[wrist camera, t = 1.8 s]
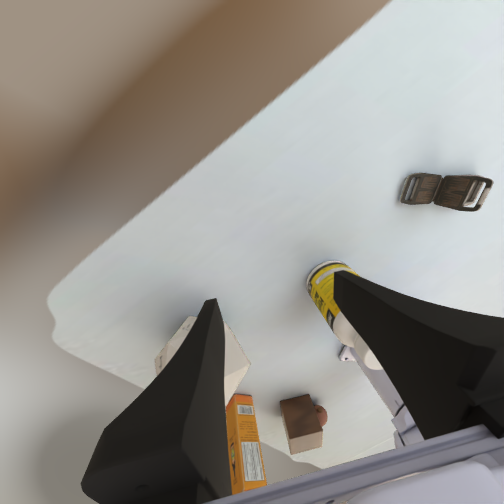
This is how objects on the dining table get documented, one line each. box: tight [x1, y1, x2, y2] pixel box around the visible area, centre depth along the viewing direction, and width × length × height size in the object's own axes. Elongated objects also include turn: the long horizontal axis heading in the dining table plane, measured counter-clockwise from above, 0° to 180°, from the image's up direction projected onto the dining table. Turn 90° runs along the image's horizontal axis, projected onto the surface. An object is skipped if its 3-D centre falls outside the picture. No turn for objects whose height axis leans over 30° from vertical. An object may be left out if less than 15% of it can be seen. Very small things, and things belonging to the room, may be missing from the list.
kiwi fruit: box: [314, 405, 327, 427], centre depth 34 cm, size 6×5×3 cm
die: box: [155, 316, 251, 407], centre depth 21 cm, size 8×9×10 cm
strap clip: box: [400, 173, 493, 212], centre depth 19 cm, size 8×3×4 cm, turn 88°
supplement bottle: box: [306, 261, 383, 370], centre depth 19 cm, size 5×5×10 cm
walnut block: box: [280, 394, 323, 455], centre depth 32 cm, size 5×5×5 cm
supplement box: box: [226, 394, 267, 495], centre depth 27 cm, size 3×3×10 cm
